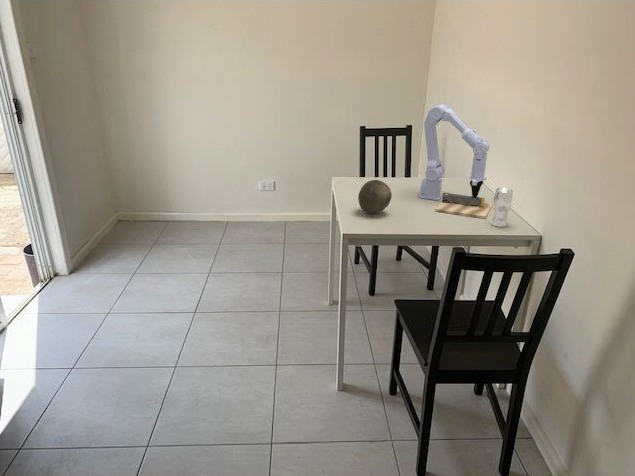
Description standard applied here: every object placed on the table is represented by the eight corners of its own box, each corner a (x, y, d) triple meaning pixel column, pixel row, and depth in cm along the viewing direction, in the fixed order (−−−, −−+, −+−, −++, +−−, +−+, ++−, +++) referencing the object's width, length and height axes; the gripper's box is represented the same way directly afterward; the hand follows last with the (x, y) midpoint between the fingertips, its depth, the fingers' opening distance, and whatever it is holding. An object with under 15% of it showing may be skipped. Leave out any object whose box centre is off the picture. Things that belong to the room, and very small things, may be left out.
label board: (434, 211, 212) (435, 207, 212) (443, 200, 227) (444, 196, 226) (485, 219, 203) (486, 215, 203) (491, 206, 218) (492, 203, 217)
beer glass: (495, 220, 202) (500, 186, 196) (510, 224, 197) (516, 190, 192) (487, 224, 198) (492, 190, 192) (503, 228, 193) (508, 193, 187)
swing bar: (441, 200, 220) (442, 194, 219) (443, 198, 222) (443, 192, 221) (482, 206, 212) (483, 199, 211) (483, 204, 215) (484, 197, 214)
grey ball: (364, 220, 203) (366, 186, 197) (353, 209, 215) (354, 177, 209) (395, 217, 206) (397, 184, 200) (382, 206, 219) (384, 175, 213)
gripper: (485, 172, 207) (481, 202, 212) (490, 165, 219) (486, 193, 224) (468, 170, 210) (465, 199, 215) (474, 163, 222) (470, 191, 227)
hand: (474, 196), depth 220 cm, fingers closed
